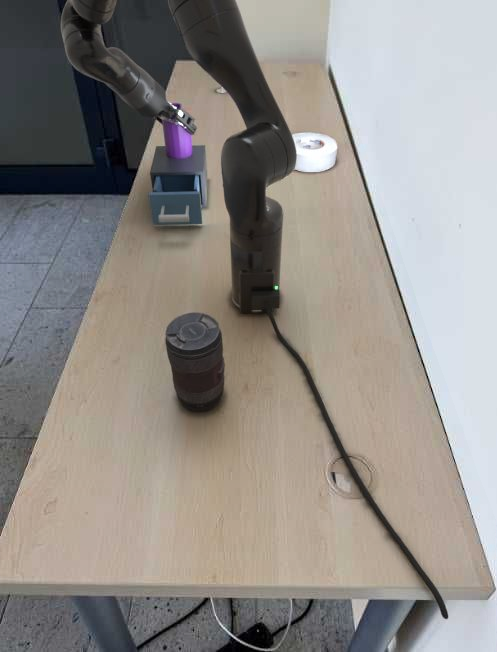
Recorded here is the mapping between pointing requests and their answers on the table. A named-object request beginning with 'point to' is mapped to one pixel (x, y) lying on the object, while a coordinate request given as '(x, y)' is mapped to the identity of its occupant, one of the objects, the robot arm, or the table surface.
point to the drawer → (176, 200)
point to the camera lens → (196, 360)
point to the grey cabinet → (182, 167)
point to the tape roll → (314, 152)
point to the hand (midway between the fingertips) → (180, 127)
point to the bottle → (176, 139)
